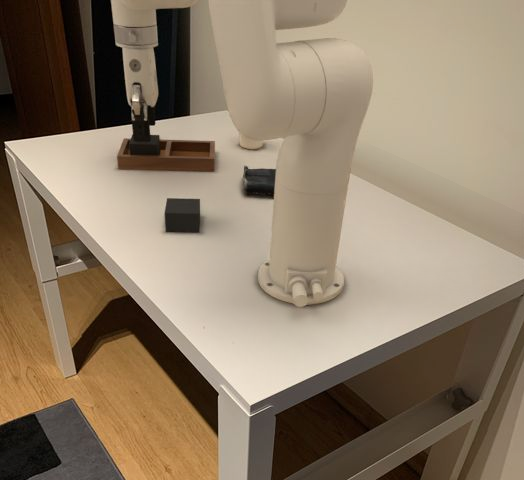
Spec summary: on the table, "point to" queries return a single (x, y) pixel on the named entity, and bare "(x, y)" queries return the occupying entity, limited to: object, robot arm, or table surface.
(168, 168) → the wooden tray
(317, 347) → the table surface
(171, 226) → the pad right
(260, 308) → the table surface
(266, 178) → the electronic device
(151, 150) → the pad left
